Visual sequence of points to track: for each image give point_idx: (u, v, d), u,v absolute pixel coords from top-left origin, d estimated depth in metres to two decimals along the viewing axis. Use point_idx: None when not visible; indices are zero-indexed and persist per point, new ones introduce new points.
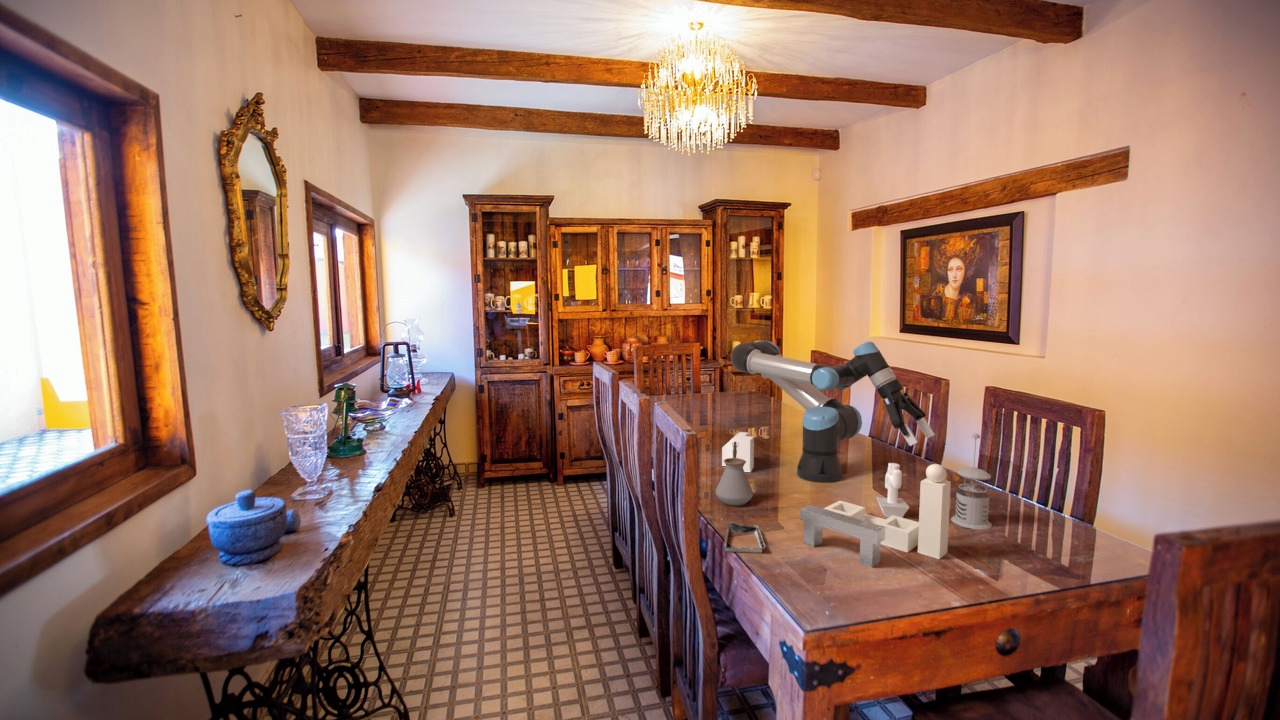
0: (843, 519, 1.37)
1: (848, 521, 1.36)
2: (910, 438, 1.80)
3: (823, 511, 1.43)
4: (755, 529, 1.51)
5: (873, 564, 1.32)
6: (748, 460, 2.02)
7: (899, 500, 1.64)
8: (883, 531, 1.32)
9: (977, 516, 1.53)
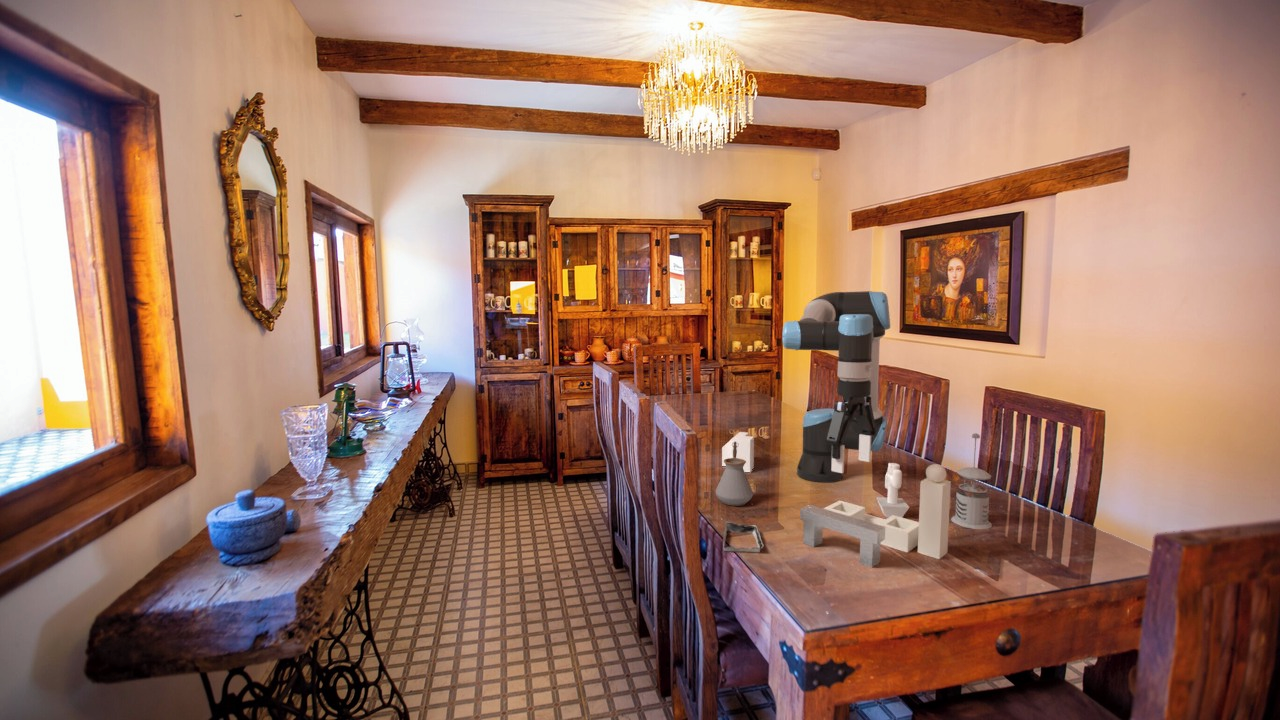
0: (843, 519, 1.37)
1: (848, 521, 1.36)
2: (837, 464, 1.32)
3: (823, 511, 1.43)
4: (753, 529, 1.51)
5: (873, 564, 1.32)
6: (748, 460, 2.02)
7: (899, 500, 1.64)
8: (883, 531, 1.32)
9: (977, 516, 1.53)
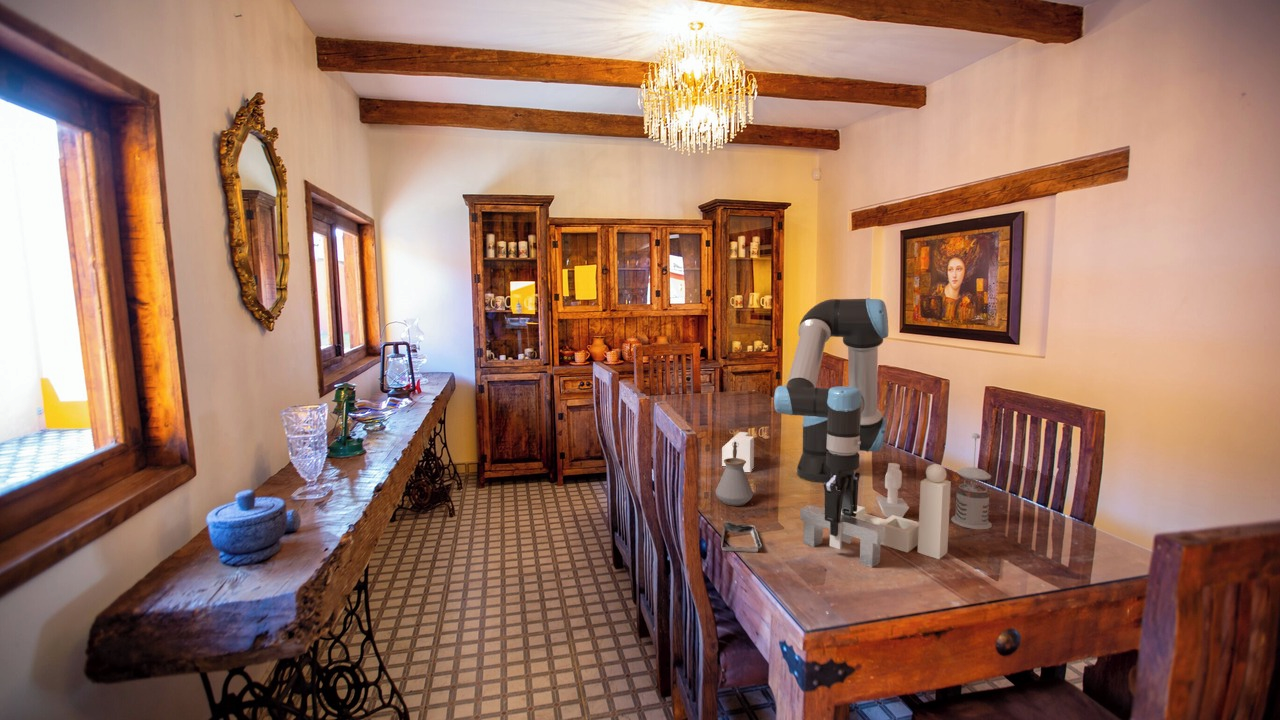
0: (843, 519, 1.37)
1: (848, 521, 1.36)
2: (835, 540, 1.37)
3: (823, 511, 1.43)
4: (751, 528, 1.52)
5: (873, 564, 1.32)
6: (748, 460, 2.02)
7: (899, 500, 1.64)
8: (883, 531, 1.32)
9: (977, 516, 1.53)
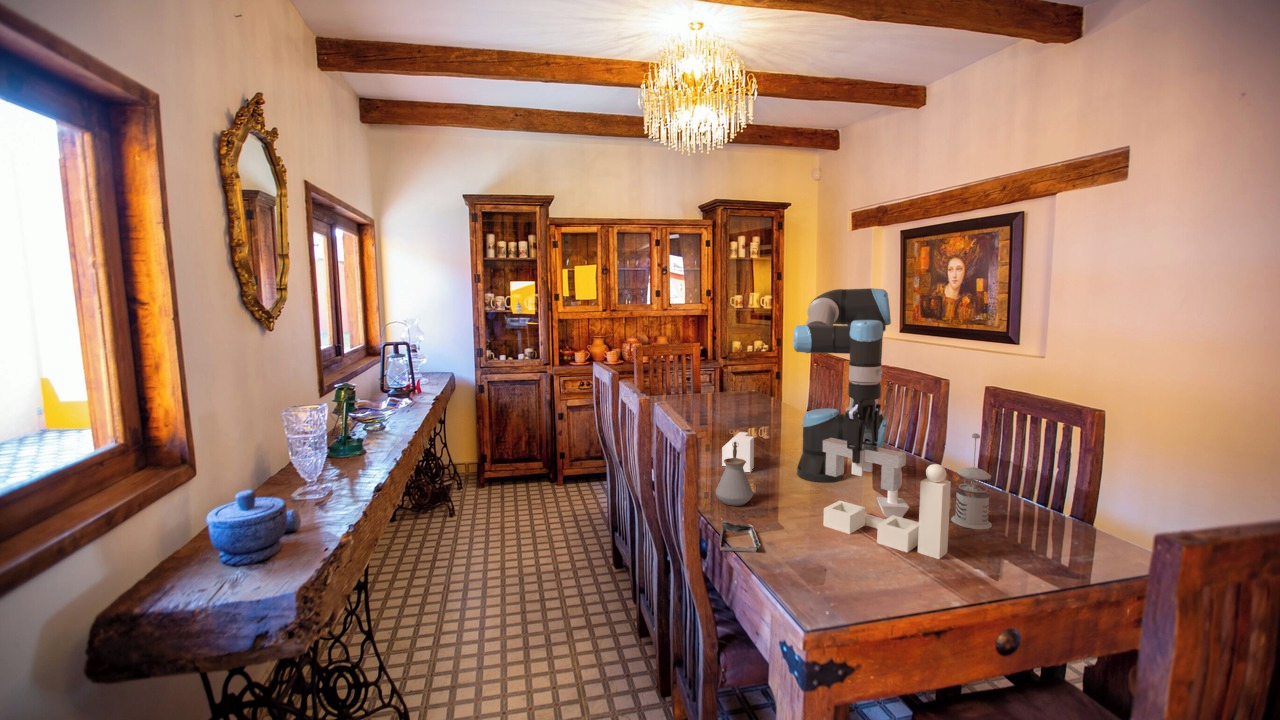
0: (865, 447, 1.43)
1: (870, 449, 1.41)
2: (857, 468, 1.42)
3: (845, 442, 1.48)
4: (749, 528, 1.52)
5: (894, 488, 1.37)
6: (748, 460, 2.02)
7: (899, 500, 1.64)
8: (904, 457, 1.37)
9: (977, 516, 1.53)
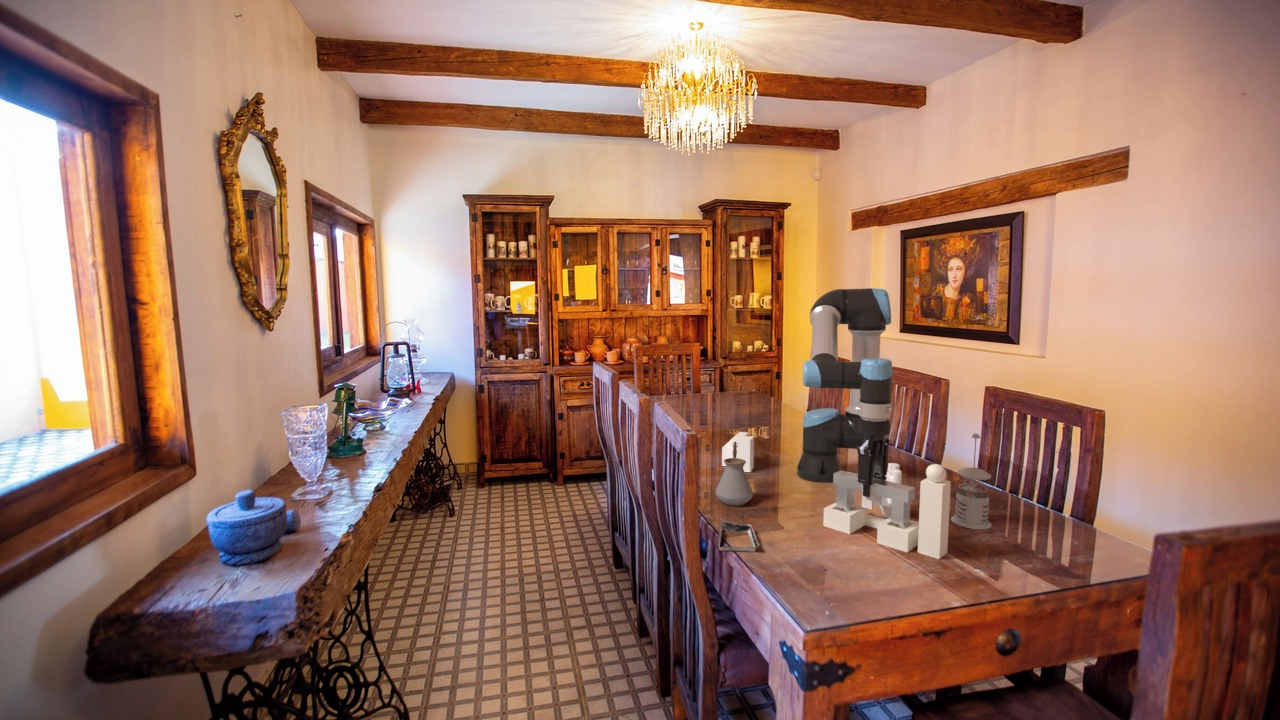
0: (875, 481, 1.47)
1: (880, 483, 1.46)
2: (867, 501, 1.47)
3: (855, 475, 1.53)
4: (748, 528, 1.52)
5: (904, 522, 1.42)
6: (748, 460, 2.02)
7: None
8: (913, 491, 1.42)
9: (977, 516, 1.53)
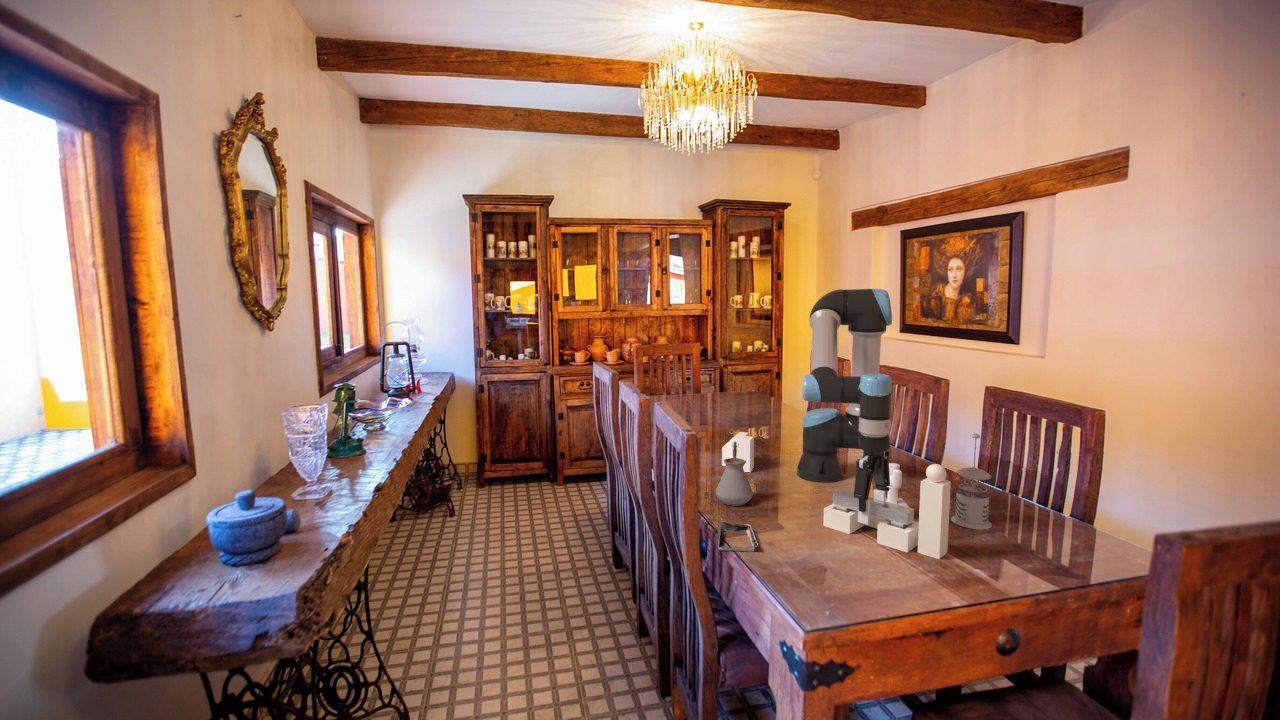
0: (874, 502, 1.48)
1: (879, 504, 1.46)
2: (863, 516, 1.46)
3: None
4: (747, 528, 1.52)
5: None
6: (748, 460, 2.02)
7: (899, 500, 1.64)
8: (912, 513, 1.43)
9: (977, 516, 1.53)
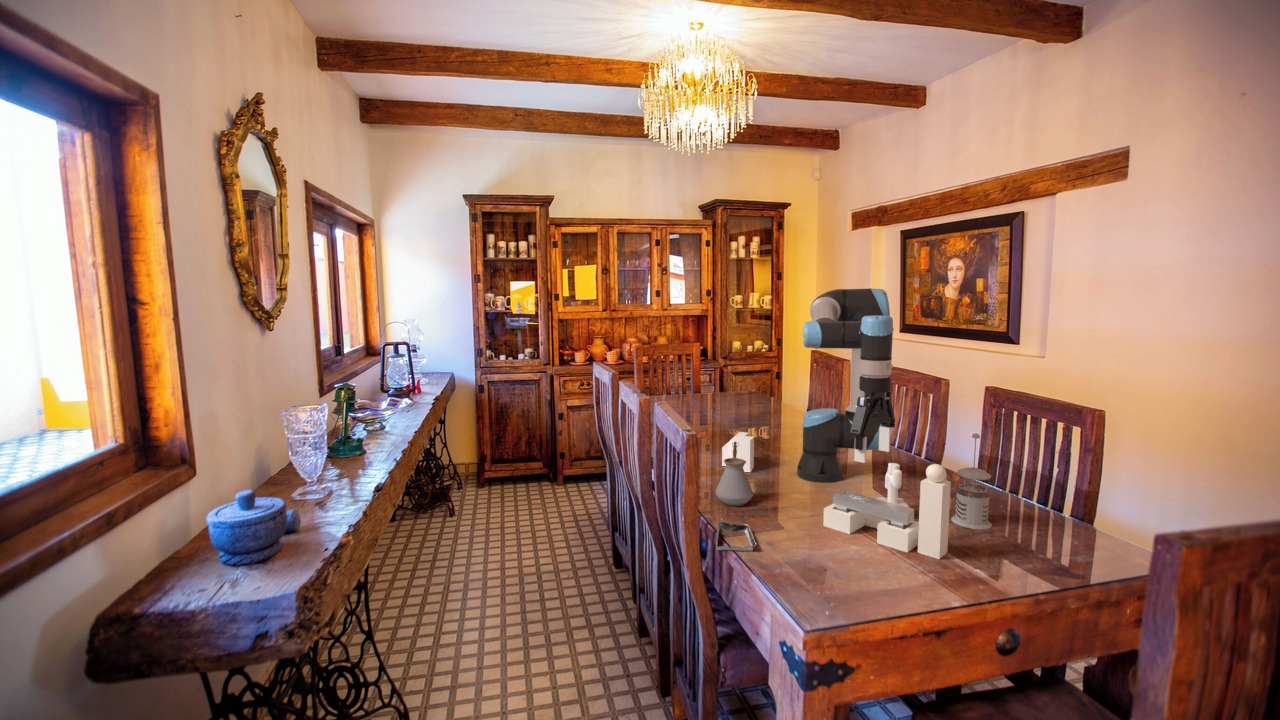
0: (874, 502, 1.48)
1: (879, 504, 1.46)
2: (860, 455, 1.43)
3: (854, 495, 1.53)
4: (745, 527, 1.52)
5: None
6: (748, 460, 2.02)
7: (899, 500, 1.64)
8: (912, 513, 1.43)
9: (977, 516, 1.53)
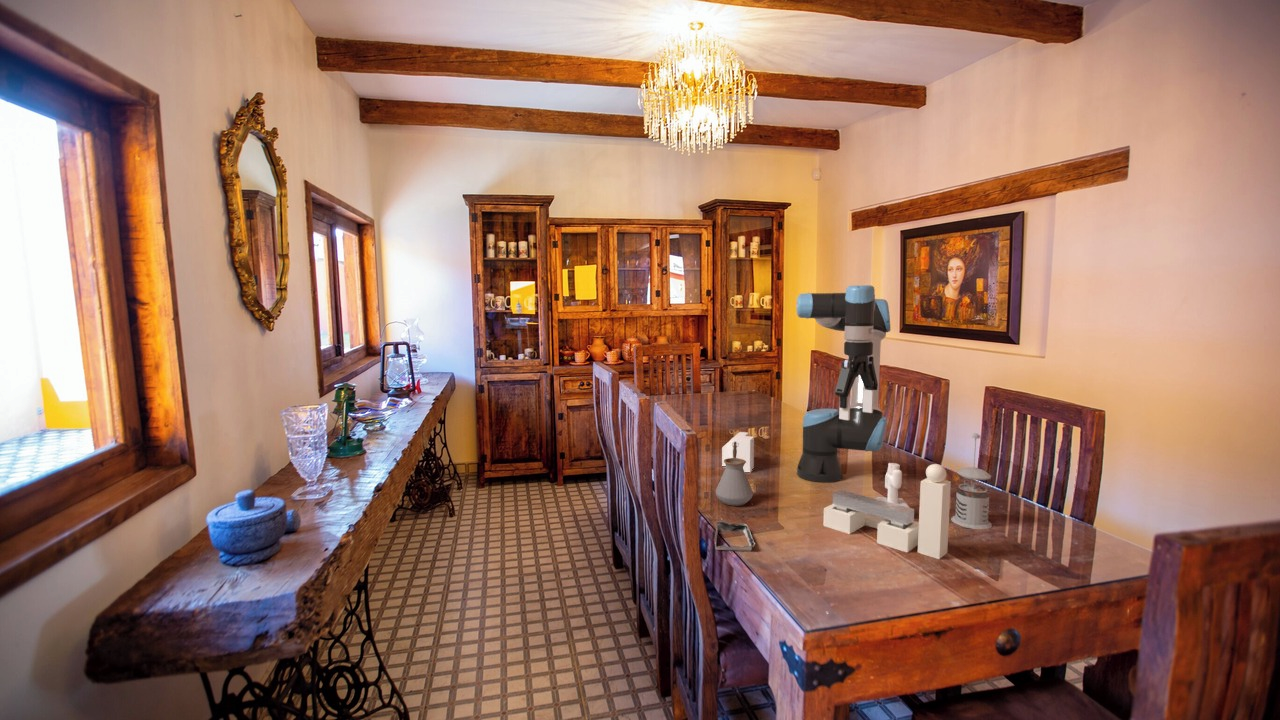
0: (874, 502, 1.48)
1: (879, 504, 1.46)
2: (844, 413, 1.56)
3: (854, 495, 1.53)
4: (744, 527, 1.52)
5: None
6: (748, 460, 2.02)
7: (899, 500, 1.64)
8: (912, 513, 1.43)
9: (977, 516, 1.53)
